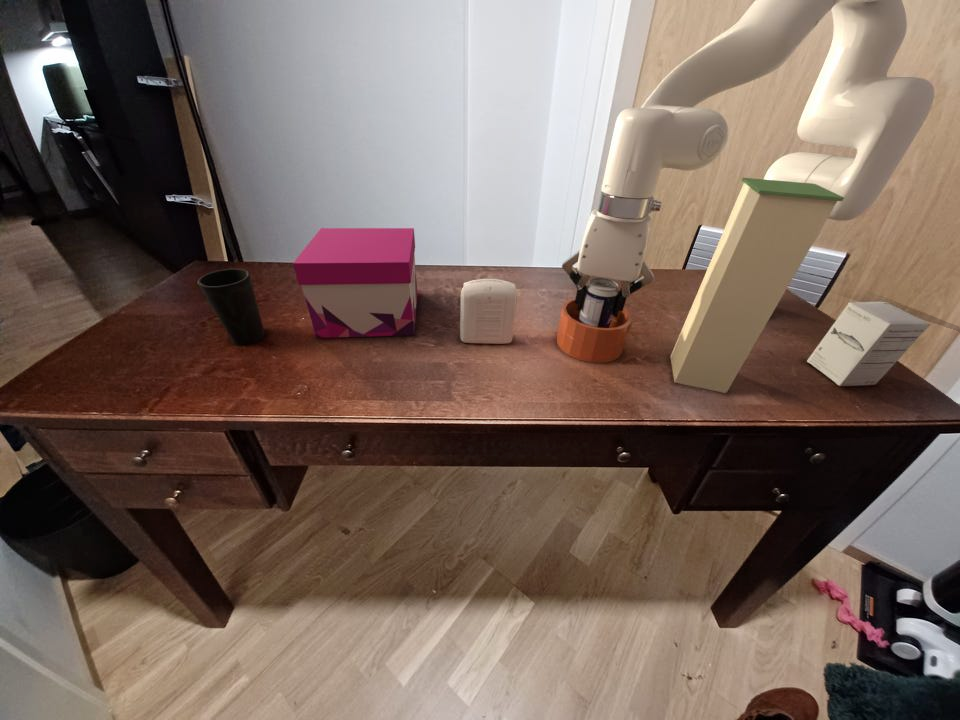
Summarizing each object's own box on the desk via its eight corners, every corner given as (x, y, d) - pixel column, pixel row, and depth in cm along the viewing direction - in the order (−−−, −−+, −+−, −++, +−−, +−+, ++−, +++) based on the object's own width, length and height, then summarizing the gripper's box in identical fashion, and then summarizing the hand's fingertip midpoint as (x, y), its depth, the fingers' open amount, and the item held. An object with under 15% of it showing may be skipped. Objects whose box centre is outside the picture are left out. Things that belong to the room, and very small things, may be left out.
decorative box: (415, 336, 71) (408, 262, 62) (314, 339, 69) (292, 263, 60) (418, 292, 86) (413, 228, 77) (335, 294, 84) (321, 228, 75)
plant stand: (717, 365, 66) (811, 187, 48) (726, 393, 60) (838, 200, 42) (670, 356, 68) (744, 181, 50) (674, 382, 62) (760, 193, 44)
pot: (600, 324, 77) (608, 293, 73) (635, 357, 68) (646, 325, 63) (546, 330, 74) (551, 300, 70) (575, 367, 65) (582, 333, 61)
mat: (813, 186, 49) (815, 183, 48) (842, 201, 42) (844, 197, 42) (741, 180, 51) (742, 177, 50) (758, 193, 44) (759, 190, 44)
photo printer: (511, 333, 73) (517, 275, 66) (513, 345, 70) (520, 285, 62) (460, 333, 73) (460, 274, 65) (460, 345, 69) (459, 284, 62)
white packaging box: (804, 361, 68) (846, 300, 61) (840, 360, 69) (886, 300, 61) (838, 387, 62) (890, 323, 55) (877, 386, 63) (934, 323, 55)
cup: (279, 330, 71) (259, 272, 64) (248, 351, 65) (221, 290, 58) (248, 323, 73) (225, 265, 66) (215, 342, 67) (186, 282, 60)
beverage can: (605, 351, 68) (622, 292, 61) (574, 347, 69) (587, 288, 62) (603, 335, 72) (619, 278, 65) (574, 331, 73) (586, 275, 66)
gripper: (681, 206, 57) (646, 309, 67) (569, 195, 61) (553, 293, 71) (687, 219, 51) (647, 329, 62) (563, 205, 55) (546, 311, 66)
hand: (597, 309), depth 66 cm, fingers closed on beverage can, 5 cm apart
